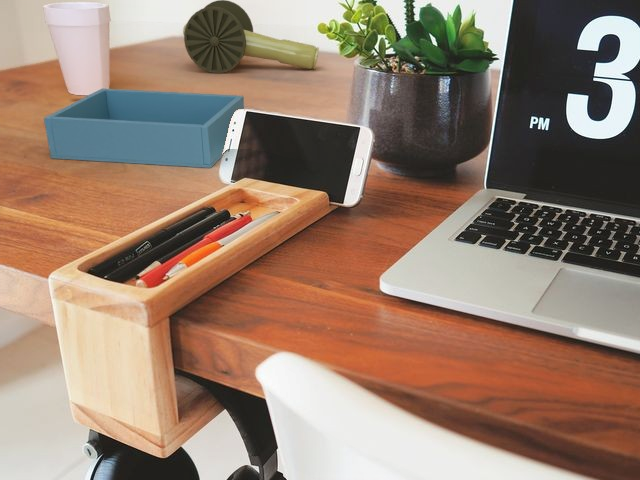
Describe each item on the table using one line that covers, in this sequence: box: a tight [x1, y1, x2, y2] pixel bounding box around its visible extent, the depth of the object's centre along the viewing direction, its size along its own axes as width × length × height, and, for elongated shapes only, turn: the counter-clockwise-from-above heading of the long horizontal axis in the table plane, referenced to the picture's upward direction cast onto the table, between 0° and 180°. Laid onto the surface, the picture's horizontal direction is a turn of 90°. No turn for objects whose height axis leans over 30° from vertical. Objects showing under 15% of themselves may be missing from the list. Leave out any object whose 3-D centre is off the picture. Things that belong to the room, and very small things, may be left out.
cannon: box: [182, 0, 320, 74], centre depth 134 cm, size 25×12×11 cm, turn 90°
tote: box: [43, 88, 245, 169], centre depth 91 cm, size 20×16×5 cm
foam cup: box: [42, 1, 112, 96], centre depth 114 cm, size 10×9×13 cm
